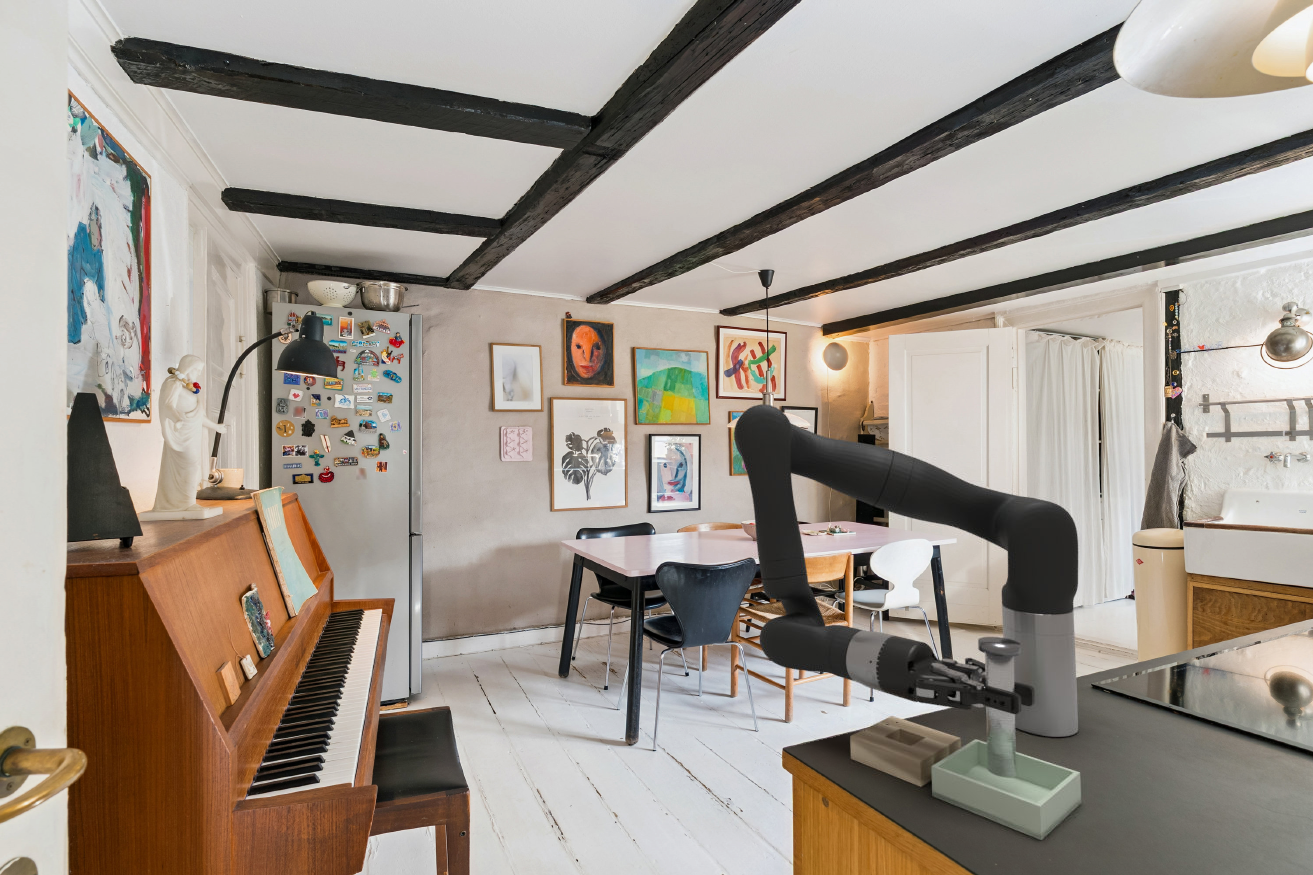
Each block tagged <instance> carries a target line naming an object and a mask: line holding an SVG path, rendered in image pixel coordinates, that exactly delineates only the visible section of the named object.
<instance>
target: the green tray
mask: <svg viewBox="0 0 1313 875" xmlns="http://www.w3.org/2000/svg"><path fill="white" fill-rule="evenodd" d="M931 769H932V780H931V791H932V792H931V793H932V794H931V795H932V797H934V798H936V799H939V800H941V801H944V802H945V803H948V804H951V805H953V806H956V807H958V808H961V809H963V810H966V811H968V812H971V813H973V814H975V815H977V816H981V817H983V818H986V819H987V820H989V821H993V822H995V823H997V824H1000V825H1002V826H1004V827H1008V828H1010V829H1013V830H1015V831H1018V832H1020V833H1022V834H1025V835H1027V836H1030V837H1032V838H1035V839H1037V840H1039V841H1042V840H1043V839H1045V838H1046V837H1047V836H1048V835H1049V834H1050V833H1051V832H1052V831H1054V829H1055V828H1057V827H1058V826H1059V825H1060V824H1061V823H1062V822H1063V821H1064V820H1065V819H1066V818H1067V817H1068V816H1069V815H1070V814H1071V813H1073V811H1075V809H1077V808H1078V807H1079V806H1080V805H1081V804H1082V789H1081V788H1082V786H1081V785H1082V784H1081V783H1082V782H1081V772H1079V771H1077V770H1074V769H1070V768H1067V767H1064V766H1061V765H1058V764H1055V763H1051V762H1048V761H1045V760H1042V759H1039V758H1036V757H1033V756H1029V755H1026V754H1023V753H1021V752H1017V751H1016V776H1014V777H1000V776H997V775H994V774H992V773H990V772H989V771H988V769H987V741H982V740H979V739H976V738H975V739H974V740H972V741H970V742H968V743H967V744H964V746H961V748H960V749H959V750H957V751H956V752H954V753H952V754H951V755H949V756H947V757H946V758H944V759H943V760H941V761H939V762H938V763H936V764H934V765H933V766H931Z"/></svg>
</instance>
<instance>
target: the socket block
mask: <svg viewBox="0 0 1313 875" xmlns="http://www.w3.org/2000/svg"><path fill="white" fill-rule="evenodd" d="M896 722H898V723H896ZM886 724H889V725H886ZM864 730H865V731H864ZM849 736H850V737H849V739H850V740H849V741H850V742H849V743H850V759H851V760H853V761H855V762H858V763H861V764H862V765H866V766H868V767H870V768H872V769H876V770H878V771H880V772H883V773H886V774H888V775H891V776H893V777H896V778H898V779H901V780H903V781H905V782H908V783H911V784H913V785H915V786H917V787H920V788H921V787H923V786H924V785H926V784H928V783H930V782H932V769H931V766H933V765H934V764H936V763H938V762H939V761H941V760H943V759H944V758H946V757H947V756H949V755H951V754H952V753H954V752H956V751H957V750H959V749H960V748H962V742H961V741H962V738H961V737H958V736H956V735H952V734H949V733H946V732H943V731H940V730H937V729H934V728H931V727H927V726H925V725H921V724H918V723H916V722H912V721H910V720H906V719H903V718H900V717H896V716H893V715H891V716H888V717H887V718H885V719H882V720H881V721H878V722H876V723H874V724H872V725H870V726H868V727H866V728H864V729H861V730H860V731H858V732H856V733H854V734H852V735H849Z"/></svg>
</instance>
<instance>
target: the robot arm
mask: <svg viewBox="0 0 1313 875" xmlns="http://www.w3.org/2000/svg"><path fill="white" fill-rule="evenodd" d="M733 438H734V442H735V444H734V445H735V447H736V449H737V451H738V453H739V455H740V456H741V458H742V461H743V464H744V467H745V470H746V474H747V478H748V481H749V485H750V486H749V487H750V492H751V497H752V503H753V514H754V520H755V521H754V524H755V537H756V538H755V539H756V546H757V547H756V548H757V556H758V561H759V563H758V564H759V569H760V576H761V583H762V589H763V591H764V592H763V593H764V595H765V596H766V597H767V598H769V599H771V600H775V601H780V602H781V604H782V607H783V609H784V612H785V615H780V616H777V617H773V618H771V619H769V620H768V621H767V622H766V623H765V624H764V625H763V626H762V628H761V630H760V632H759V645H760V647H761V651H762V652H763V654H764V655H765V656H766V657H767V658H768V659H769V660H770V661H771V662H772V663H774V664H776V665H778V666H780V667H783V668H786V669H790V670H797V671H807V672H814V673H827V674H830V675H831V674H832V675H834V676H837V677H839V678H842V679H846V680H849V681H852V682H856V683H859V684H861V685H862V686H865V687H867V688H868V689H872V690H875V691H878V692H882V693H885V694H888V695H891V696H893V697H898V698H900V699H901V698H902V699H904V700H908V701H911V702H914V703H920V704H926V705H927V704H929V705H935V706H941V707H946V708H947V707H948V708H953V709H959V710H960V709H961V710H966V711H968V710H972V706H973V707H976V708H984V707H986V706H987V707H991V708H994V709H997V710H1001V711H1004V712H1008V713H1011V714H1015V729H1018V730H1020V731H1024V732H1026V733H1029V734H1033V735H1039V736H1043V737H1044V736H1045V737H1053V738H1054V737H1055V738H1056V737H1059V738H1060V737H1069V736H1073V735H1075V734H1076V733H1078V732H1079V718H1078V714H1079V713H1078V691H1077V690H1078V688H1077V686H1078V685H1077V666H1076V665H1077V663H1076V662H1077V660H1076V639H1075V637H1076V635H1075V613H1074V609H1075V608H1074V598H1075V596H1076V595H1077V592H1078V588H1079V538H1078V530H1077V527H1076V523H1075V521H1074V518H1073V517H1072V514H1070V512H1069V511H1067V510H1066V508H1064V507H1062V506H1061V505H1059V504H1057V503H1055V502H1052V501H1049V500H1044V499H1040V498H1035V497H1031V496H1030V497H1029V496H1022V495H1017V494H1012V493H1011V494H1010V493H1007V492H1002V491H998V490H993V489H991V488H990V489H989V488H986V487H983V486H980V485H977V484H976V485H975V484H973V483H970V482H968V481H966V480H963V479H961V478H959V477H957V476H956V475H954V474H953V473H950V472H948V471H946V470H944V469H942V468H941V467H938V466H936V465H933V464H932V463H930V462H927V461H926V460H925V461H924V460H923V459H919V458H917V457H914V456H911V455H908V454H906V453H903V452H900V451H897V450H892V449H890V448H887V447H882V446H879V445H874V444H868V443H863V442H857V441H851V440H844V439H836V438H830V437H828V436H824V435H820V434H817V433H815V432H811V431H810V430H807V429H805V428H803V427H800V426H798V425H796V424H793V423H792V422H791V421H790V419H789V417H788V416H787V415H786V414H785V412H783V411H782V410H781V409H780V408H777V407H776V406H773V405H771V404H757V405H752V406H751V407H749V408H747V409H746V410H745V411H743V413H742V414H741V415H740V416H739V417H738V419H737V421H736V424H735V426H734V431H733ZM792 475H797V476H801V477H803V478H807V479H810V480H812V481H815V482H817V483H820V484H822V485H823V486H826V487H827V488H830V489H833V490H834V491H836V492H839V493H841V494H842V495H845V496H848V497H850V498H852V499H855V500H858V501H860V502H863V503H866V504H868V505H870V506H873V507H876V508H878V509H881V510H884V511H886V512H890V513H892V514H896V515H899V516H902V517H905V518H909V519H913V520H914V519H915V520H918V521H923V522H928V523H931V524H933V523H934V524H938V525H944V526H949V527H952V528H956V529H959V530H962V531H965V532H966V533H969V534H971V535H973V536H975V537H978V538H980V539H983V540H985V541H987V542H990V543H991V544H993V545H996V546H998V547H999V548H1001V549H1003V550H1005V551H1007V578H1006V582H1005V584H1003V586H1002V588H1001V612H1002V614H1001V615H1002V616H1001V617H1002V634H1003V637H1002V638H1007V639H1011V640H1014V641H1017V642H1019V643H1020V652H1021V653H1020V655H1018V656H1014V691H1015V693H1014V692H1010V691H1006V690H1003V689H999V688H995V687H991V686H986V678H985V663H984V662H983V661H980V660H977V659H975V658H972V657H966V658H964V663H962V662H961V663H960V662H958V661H957V660H956V659H951V658H942V659H938V657H937V656H936V655H935V652H934V651H933V648H932V647H931V646H930V645H929V644H928V643H926V642H923V641H920V640H915V639H910V638H906V637H903V636H902V637H901V636H898V635H895V634H889V633H884V632H881V631H874V630H873V631H870V630H865V629H864V630H863V629H860V628H855V627H851V626H847V625H843V624H832V625H831V624H830V625H826V623H825V620H824V617H823V614H822V612H821V609H820V607H819V605H818V603H817V599H816V597H815V595H814V592H813V590H812V588H811V586H810V584H809V580H808V570H807V565H806V558H805V551H804V547H803V541H802V536H801V530H800V526H799V521H798V516H797V510H796V506H795V498H794V491H793V482H792Z"/></svg>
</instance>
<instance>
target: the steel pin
mask: <svg viewBox="0 0 1313 875" xmlns="http://www.w3.org/2000/svg"><path fill="white" fill-rule="evenodd" d="M977 647H978V648H977V649H978V650H979V651H980V652H981V653H984V662H985V663H984V664H985V678H986V686H991V687H995V688H999V689H1003V690H1006V691H1010V692H1014V693H1015V691H1014V656H1018V655H1020V653H1021V652H1020V643H1019V642H1017V641H1014V640H1011V639H1007V638H1003V637H998V636H984V637H980V638H978V640H977ZM985 712H986V714H985V715H986V716H985V717H986V720H985V722H986V724H985V725H986V743H987V769H988V771H989V772H990V773H992V774H994V775H997V776H1000V777H1014V776H1016V752H1017V746H1016V743H1017V742H1016V738H1017V736H1016V727H1015V714H1011V713H1008V712H1004V711H1001V710H997V709H994V708H991V707H987V706H985Z"/></svg>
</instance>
